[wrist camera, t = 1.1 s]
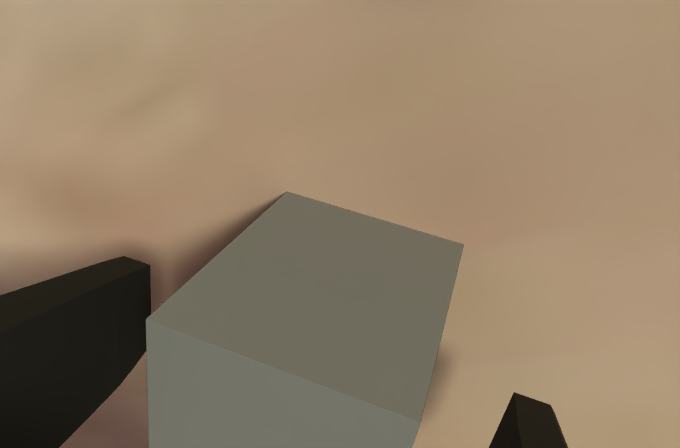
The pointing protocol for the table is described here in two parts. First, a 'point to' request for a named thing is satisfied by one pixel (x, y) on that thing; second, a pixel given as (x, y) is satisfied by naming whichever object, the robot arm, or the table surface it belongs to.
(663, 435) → the table surface
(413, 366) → the grey block
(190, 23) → the table surface
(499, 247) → the table surface
